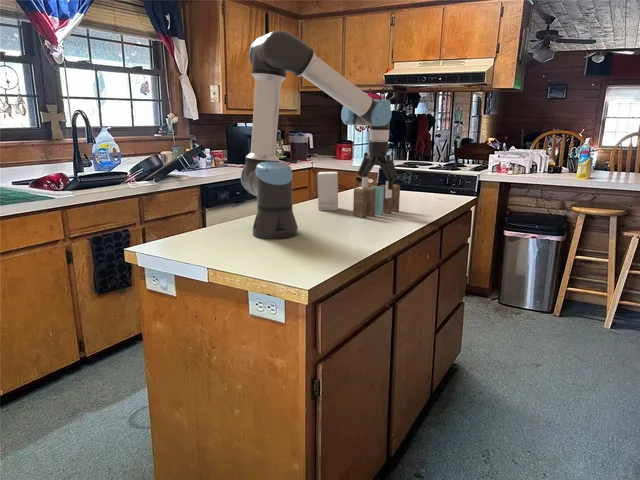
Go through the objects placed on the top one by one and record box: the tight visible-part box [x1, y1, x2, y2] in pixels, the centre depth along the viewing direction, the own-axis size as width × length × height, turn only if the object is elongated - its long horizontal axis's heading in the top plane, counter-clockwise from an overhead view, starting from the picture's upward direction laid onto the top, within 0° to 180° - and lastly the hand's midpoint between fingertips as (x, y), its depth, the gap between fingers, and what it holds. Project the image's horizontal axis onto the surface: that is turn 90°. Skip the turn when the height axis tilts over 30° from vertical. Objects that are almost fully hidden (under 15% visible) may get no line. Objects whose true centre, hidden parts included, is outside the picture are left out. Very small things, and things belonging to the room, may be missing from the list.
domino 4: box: [391, 183, 401, 213], centre depth 197 cm, size 2×5×11 cm, turn 37°
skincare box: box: [316, 171, 339, 211], centre depth 200 cm, size 8×7×16 cm
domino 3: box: [379, 184, 392, 215], centre depth 194 cm, size 2×5×11 cm, turn 37°
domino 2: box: [363, 186, 376, 218], centre depth 188 cm, size 2×5×11 cm, turn 37°
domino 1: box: [352, 187, 367, 219], centre depth 186 cm, size 2×5×11 cm, turn 37°
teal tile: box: [370, 185, 384, 216], centre depth 191 cm, size 2×5×11 cm, turn 37°
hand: (376, 195), depth 190 cm, fingers open, 13 cm apart
